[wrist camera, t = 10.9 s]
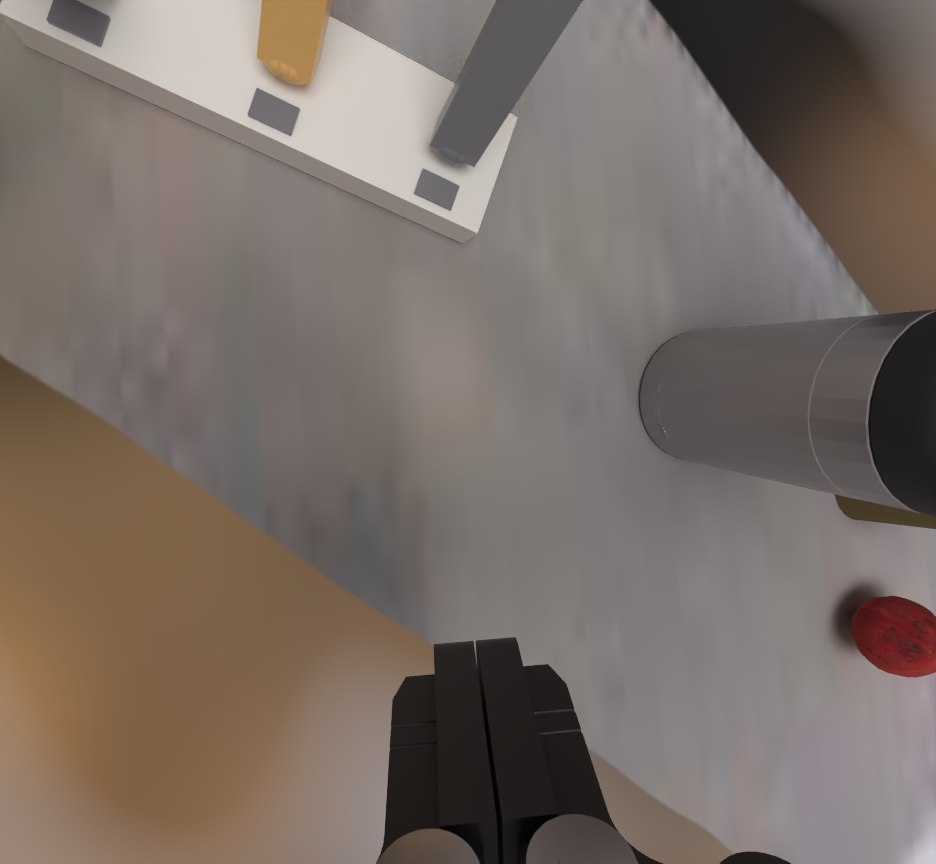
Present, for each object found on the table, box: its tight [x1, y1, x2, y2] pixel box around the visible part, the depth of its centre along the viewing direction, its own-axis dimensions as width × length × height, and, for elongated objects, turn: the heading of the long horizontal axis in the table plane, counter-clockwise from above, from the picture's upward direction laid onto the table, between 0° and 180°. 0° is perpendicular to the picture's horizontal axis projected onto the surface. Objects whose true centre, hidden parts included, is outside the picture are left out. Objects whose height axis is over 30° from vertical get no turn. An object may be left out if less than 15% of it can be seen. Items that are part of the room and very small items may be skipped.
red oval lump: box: [851, 596, 936, 677], centre depth 46 cm, size 6×6×8 cm
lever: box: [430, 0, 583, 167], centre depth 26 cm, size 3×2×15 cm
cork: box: [835, 494, 936, 529], centre depth 43 cm, size 6×6×11 cm
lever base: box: [0, 0, 518, 244], centre depth 32 cm, size 24×7×3 cm, turn 70°
